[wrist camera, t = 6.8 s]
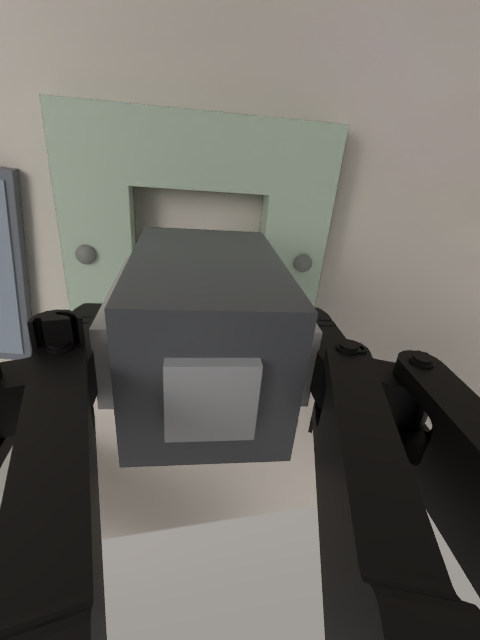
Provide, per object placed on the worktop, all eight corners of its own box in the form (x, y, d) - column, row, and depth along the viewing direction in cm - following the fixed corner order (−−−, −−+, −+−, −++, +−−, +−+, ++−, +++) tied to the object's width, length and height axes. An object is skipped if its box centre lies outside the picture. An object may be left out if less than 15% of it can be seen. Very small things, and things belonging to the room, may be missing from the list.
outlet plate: (51, 96, 17) (37, 93, 16) (337, 124, 19) (350, 124, 18) (84, 352, 23) (76, 368, 22) (297, 353, 25) (304, 367, 24)
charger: (144, 226, 15) (100, 316, 8) (262, 232, 16) (323, 320, 9) (148, 331, 18) (117, 478, 10) (251, 333, 18) (293, 471, 11)
